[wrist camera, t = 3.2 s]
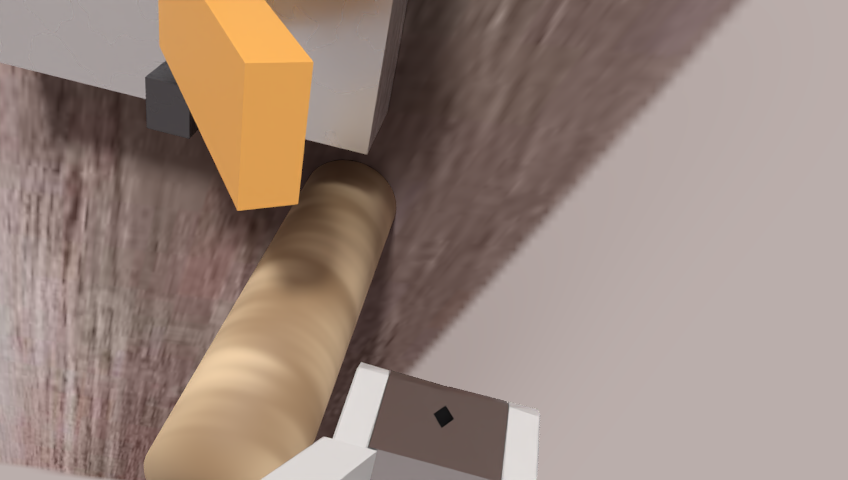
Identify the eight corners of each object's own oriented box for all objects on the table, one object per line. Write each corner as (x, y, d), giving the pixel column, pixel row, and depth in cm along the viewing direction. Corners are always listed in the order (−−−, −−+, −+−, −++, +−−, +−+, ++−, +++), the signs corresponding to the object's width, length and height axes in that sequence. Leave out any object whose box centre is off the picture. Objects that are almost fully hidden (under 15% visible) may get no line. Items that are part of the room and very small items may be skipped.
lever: (154, 42, 26) (237, 217, 18) (151, -90, 23) (245, 54, 16) (200, 41, 26) (297, 210, 19) (202, -85, 24) (314, 53, 17)
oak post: (300, 228, 35) (146, 511, 22) (309, 149, 33) (140, 418, 20) (387, 250, 35) (284, 548, 22) (403, 173, 33) (297, 459, 20)
